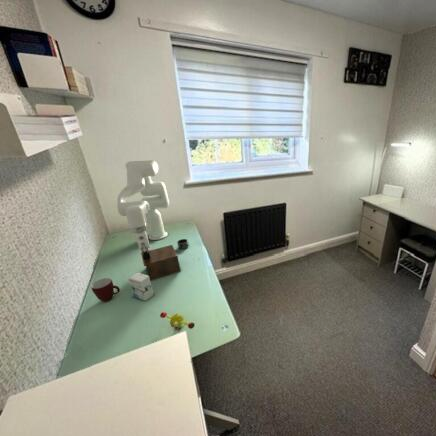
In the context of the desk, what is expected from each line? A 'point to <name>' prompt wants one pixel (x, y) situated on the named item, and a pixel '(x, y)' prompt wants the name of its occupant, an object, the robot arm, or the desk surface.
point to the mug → (104, 289)
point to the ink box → (141, 286)
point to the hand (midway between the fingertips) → (146, 256)
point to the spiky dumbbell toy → (176, 320)
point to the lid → (160, 255)
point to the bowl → (182, 243)
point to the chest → (163, 268)
